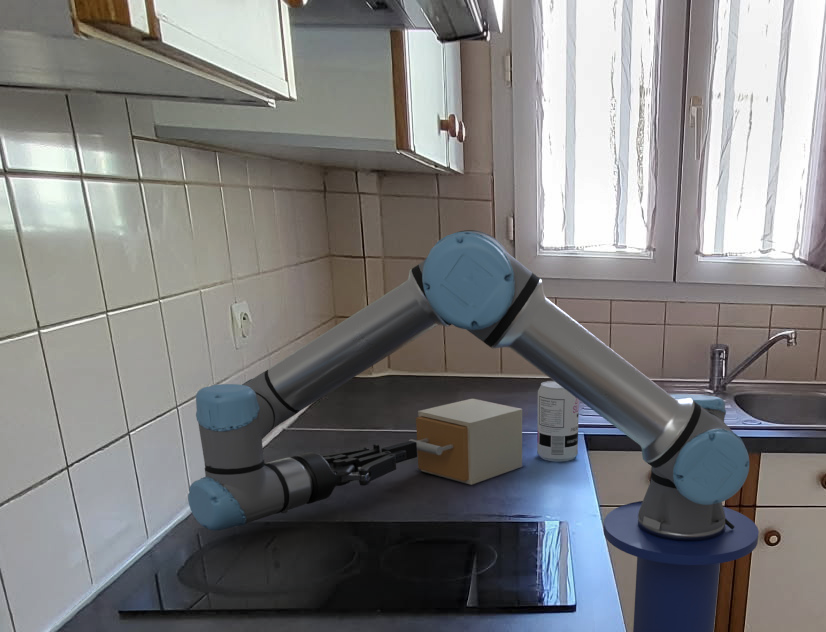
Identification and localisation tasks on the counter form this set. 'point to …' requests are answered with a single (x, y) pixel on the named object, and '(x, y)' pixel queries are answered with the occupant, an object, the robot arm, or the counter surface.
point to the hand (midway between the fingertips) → (413, 448)
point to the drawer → (442, 448)
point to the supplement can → (557, 423)
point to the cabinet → (485, 436)
